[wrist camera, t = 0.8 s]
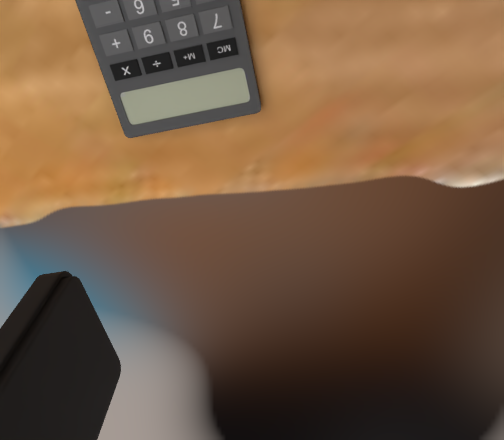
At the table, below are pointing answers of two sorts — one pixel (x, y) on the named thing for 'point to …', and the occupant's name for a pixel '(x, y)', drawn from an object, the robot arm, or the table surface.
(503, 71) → the table surface
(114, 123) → the table surface
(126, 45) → the calculator
